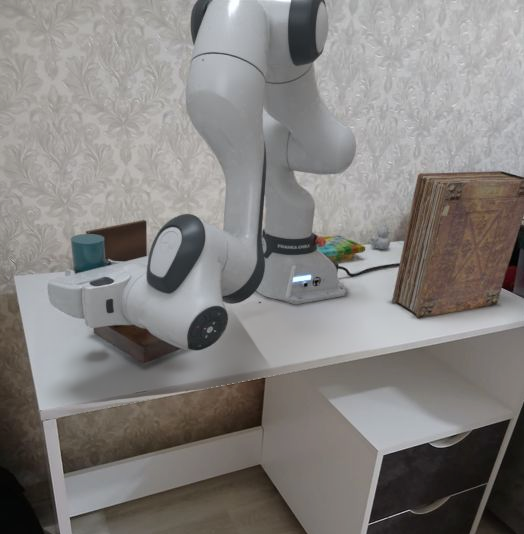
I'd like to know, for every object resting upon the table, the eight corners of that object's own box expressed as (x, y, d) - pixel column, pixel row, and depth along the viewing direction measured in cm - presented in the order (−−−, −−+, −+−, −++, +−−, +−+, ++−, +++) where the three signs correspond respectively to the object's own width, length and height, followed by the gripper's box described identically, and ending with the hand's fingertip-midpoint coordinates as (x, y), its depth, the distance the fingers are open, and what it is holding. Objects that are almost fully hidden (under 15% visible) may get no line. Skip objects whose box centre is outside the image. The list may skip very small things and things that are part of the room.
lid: (146, 220, 105) (130, 213, 107) (88, 232, 96) (72, 224, 99) (147, 299, 113) (132, 290, 116) (93, 316, 104) (78, 306, 107)
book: (416, 318, 125) (447, 183, 110) (391, 302, 132) (417, 173, 118) (497, 304, 135) (534, 179, 121) (469, 290, 142) (502, 170, 128)
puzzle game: (284, 238, 154) (339, 232, 164) (282, 254, 156) (337, 247, 166) (308, 251, 146) (366, 243, 155) (306, 268, 148) (363, 259, 158)
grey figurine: (393, 251, 167) (398, 225, 163) (374, 252, 165) (378, 225, 161) (383, 245, 171) (388, 219, 167) (365, 246, 169) (369, 220, 165)
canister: (108, 305, 98) (102, 233, 92) (110, 317, 94) (105, 243, 87) (77, 307, 96) (69, 234, 90) (78, 319, 92) (71, 244, 86)
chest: (197, 345, 107) (197, 326, 105) (144, 367, 98) (143, 347, 96) (146, 318, 115) (146, 300, 113) (94, 336, 107) (92, 317, 105)
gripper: (190, 260, 89) (137, 238, 97) (77, 290, 76) (26, 262, 83) (189, 296, 92) (138, 272, 100) (81, 331, 79) (32, 301, 86)
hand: (86, 268), depth 92 cm, fingers closed on canister, 5 cm apart
